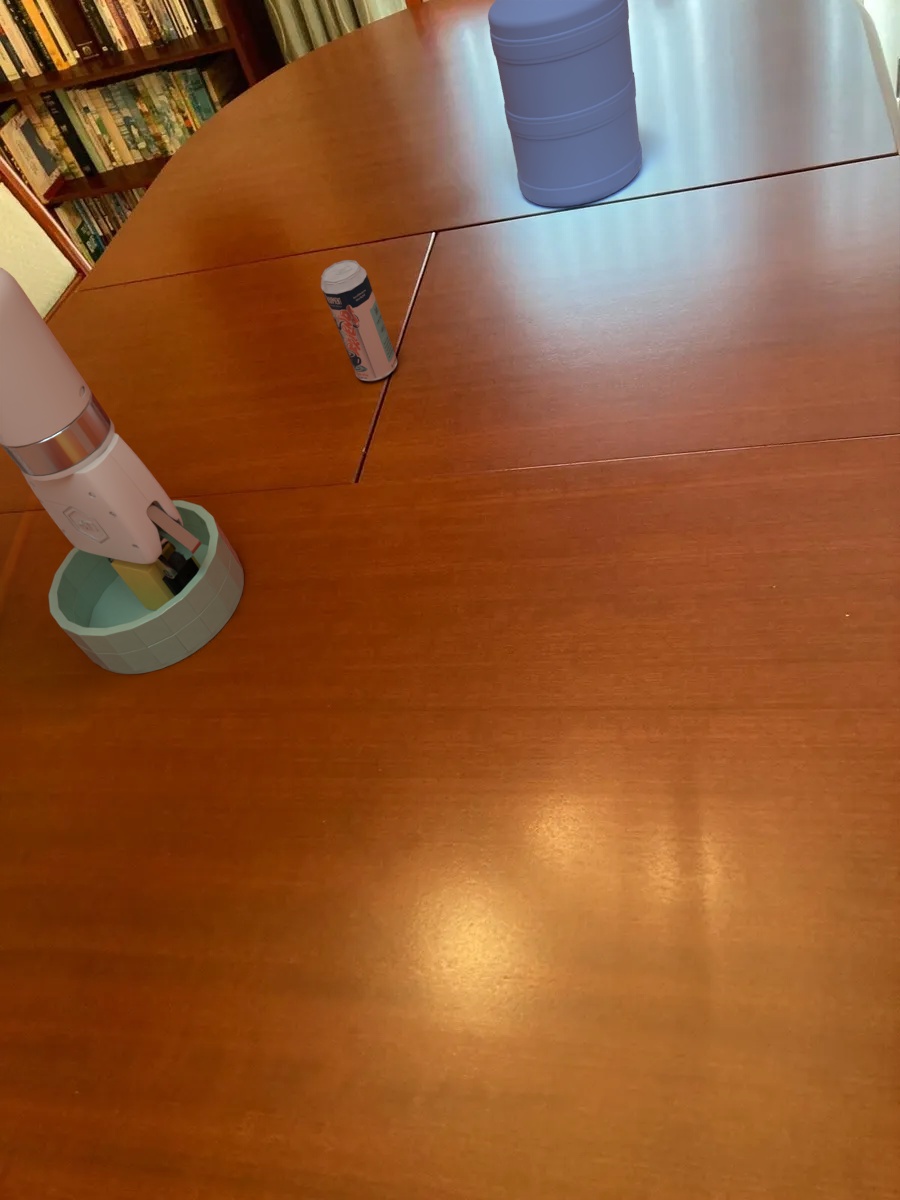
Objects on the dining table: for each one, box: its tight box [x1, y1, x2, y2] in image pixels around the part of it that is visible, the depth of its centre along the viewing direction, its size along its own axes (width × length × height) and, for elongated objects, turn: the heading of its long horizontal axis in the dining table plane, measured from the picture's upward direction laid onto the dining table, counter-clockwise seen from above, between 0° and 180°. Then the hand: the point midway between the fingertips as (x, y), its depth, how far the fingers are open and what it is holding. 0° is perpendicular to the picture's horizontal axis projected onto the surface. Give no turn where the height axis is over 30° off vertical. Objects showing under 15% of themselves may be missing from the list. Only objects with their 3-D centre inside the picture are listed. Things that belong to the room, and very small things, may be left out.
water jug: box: [487, 0, 643, 208], centre depth 103 cm, size 16×16×28 cm
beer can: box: [320, 259, 398, 382], centre depth 92 cm, size 5×5×12 cm
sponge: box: [111, 533, 201, 611], centre depth 77 cm, size 4×4×6 cm
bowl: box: [48, 499, 245, 675], centre depth 78 cm, size 16×16×6 cm
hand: (173, 589), depth 79 cm, fingers closed on sponge, 4 cm apart
